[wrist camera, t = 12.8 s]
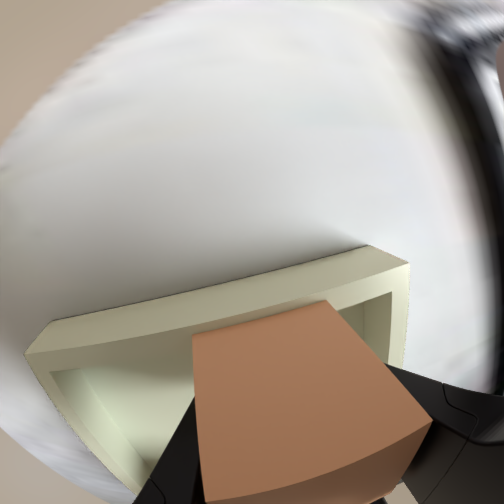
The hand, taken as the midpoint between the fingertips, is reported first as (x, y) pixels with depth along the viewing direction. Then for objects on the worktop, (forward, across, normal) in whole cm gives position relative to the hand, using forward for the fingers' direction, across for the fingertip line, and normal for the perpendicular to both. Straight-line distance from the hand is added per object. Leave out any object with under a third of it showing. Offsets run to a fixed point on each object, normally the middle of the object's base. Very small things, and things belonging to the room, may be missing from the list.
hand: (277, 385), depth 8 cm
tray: (+3, +2, +4) cm, 6 cm away
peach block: (+1, 0, 0) cm, 1 cm away
